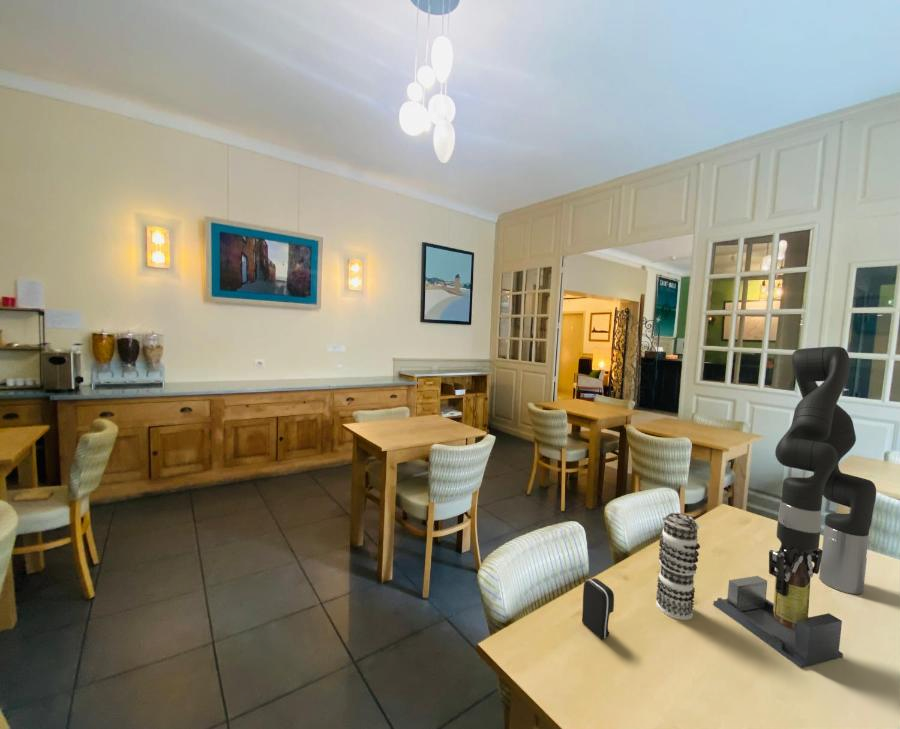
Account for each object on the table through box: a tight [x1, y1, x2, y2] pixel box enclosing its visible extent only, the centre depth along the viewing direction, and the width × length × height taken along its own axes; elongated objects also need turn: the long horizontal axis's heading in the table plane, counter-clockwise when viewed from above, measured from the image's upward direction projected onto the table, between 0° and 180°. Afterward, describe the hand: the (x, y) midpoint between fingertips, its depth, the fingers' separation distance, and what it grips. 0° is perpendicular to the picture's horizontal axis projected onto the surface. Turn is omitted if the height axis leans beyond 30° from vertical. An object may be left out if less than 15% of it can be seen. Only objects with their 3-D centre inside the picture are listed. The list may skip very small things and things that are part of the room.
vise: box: [712, 597, 844, 669], centre depth 97 cm, size 13×21×9 cm, turn 15°
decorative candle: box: [655, 512, 701, 621], centre depth 103 cm, size 9×9×25 cm
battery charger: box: [581, 578, 615, 640], centre depth 95 cm, size 7×4×11 cm, turn 26°
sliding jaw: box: [726, 575, 768, 611], centre depth 103 cm, size 10×2×7 cm, turn 105°
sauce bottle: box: [773, 549, 811, 630], centre depth 93 cm, size 6×6×20 cm
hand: (792, 591), depth 93 cm, fingers closed on sauce bottle, 6 cm apart
